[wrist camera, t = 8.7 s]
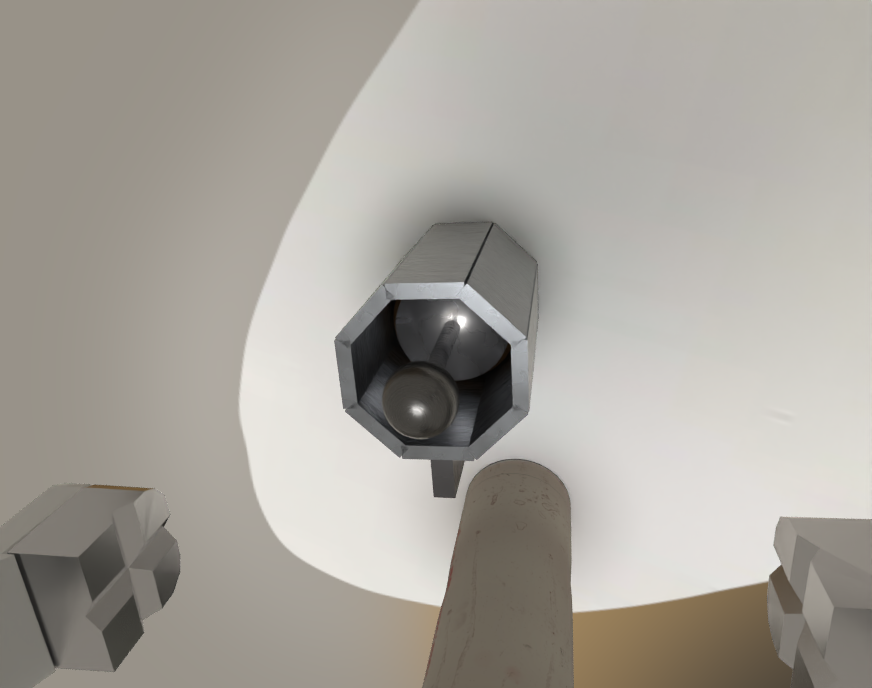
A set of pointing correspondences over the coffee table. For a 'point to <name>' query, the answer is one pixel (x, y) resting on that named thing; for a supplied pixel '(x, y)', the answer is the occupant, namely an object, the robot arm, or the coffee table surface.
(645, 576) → the coffee table surface
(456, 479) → the octagonal steel cup
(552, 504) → the thermos bottle
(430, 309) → the plunger
